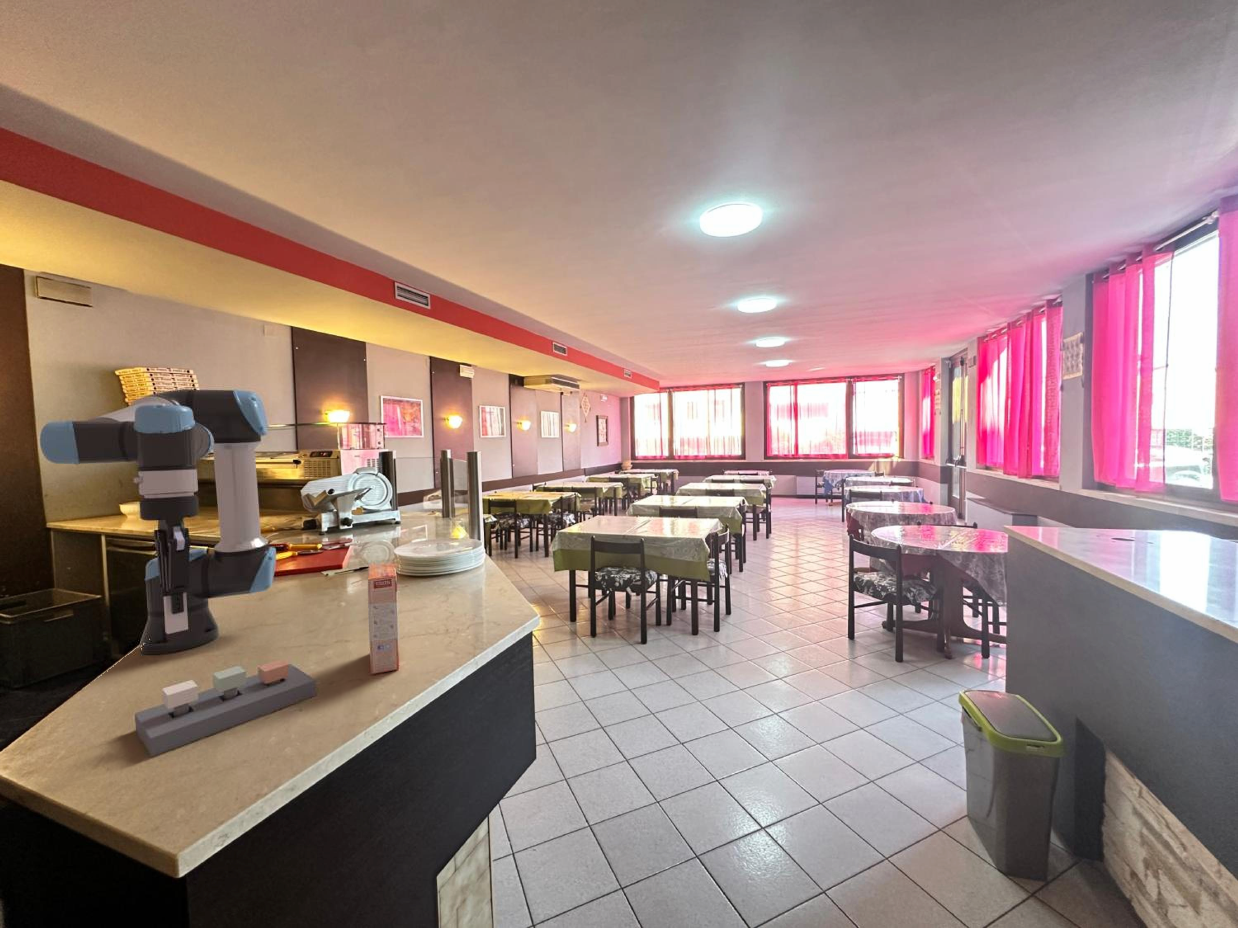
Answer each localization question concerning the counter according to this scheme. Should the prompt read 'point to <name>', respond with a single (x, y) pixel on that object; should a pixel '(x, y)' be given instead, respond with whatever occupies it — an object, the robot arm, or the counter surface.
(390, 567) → the cracker box
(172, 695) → the key ivory
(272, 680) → the key terracotta
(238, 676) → the key sage
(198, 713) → the console
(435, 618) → the counter surface
